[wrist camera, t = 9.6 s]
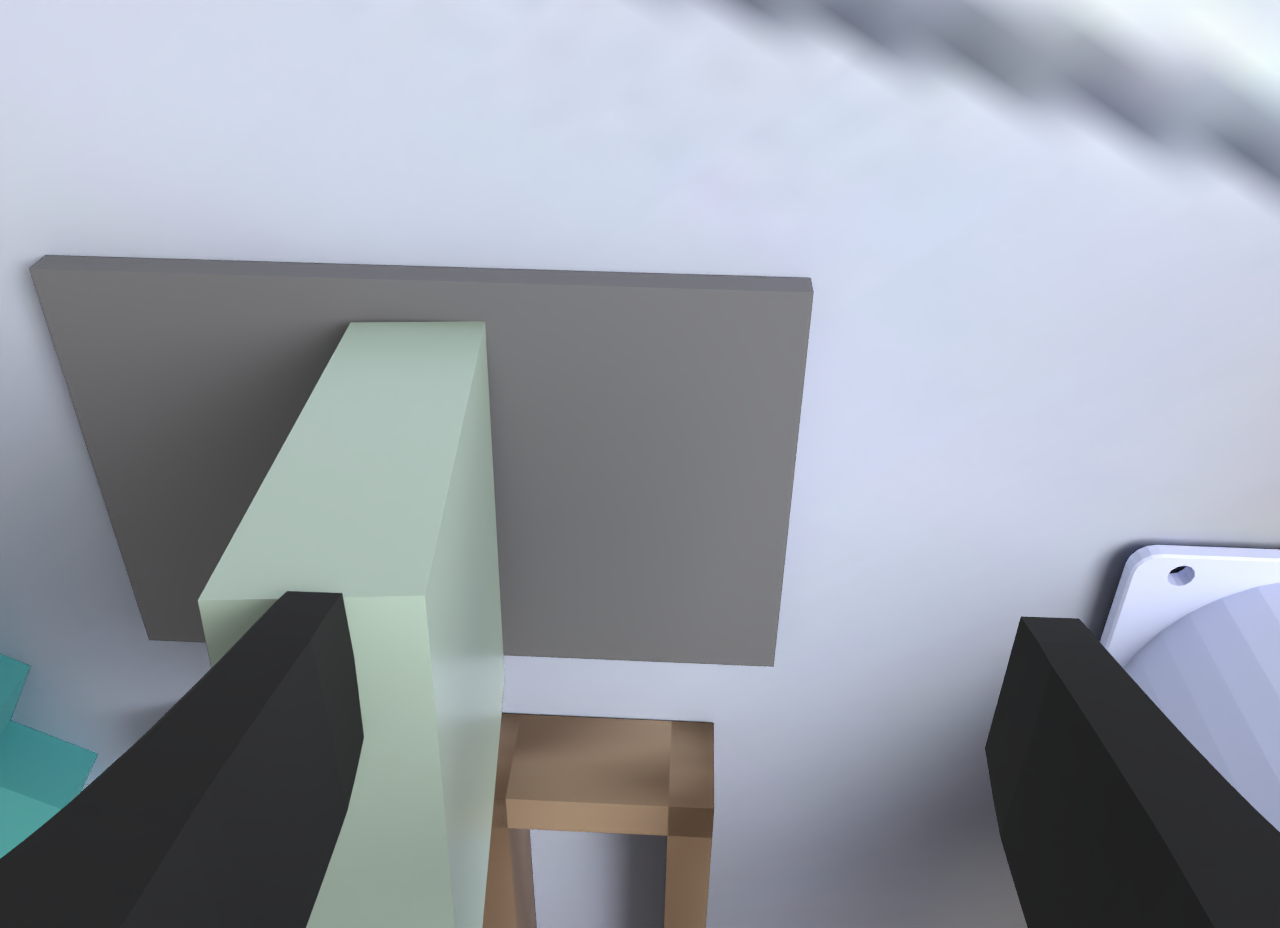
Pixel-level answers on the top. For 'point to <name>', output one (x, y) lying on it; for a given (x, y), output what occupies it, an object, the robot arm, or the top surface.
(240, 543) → the pale green block
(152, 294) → the gray mat
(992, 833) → the top surface
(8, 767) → the alien figure
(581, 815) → the rack
